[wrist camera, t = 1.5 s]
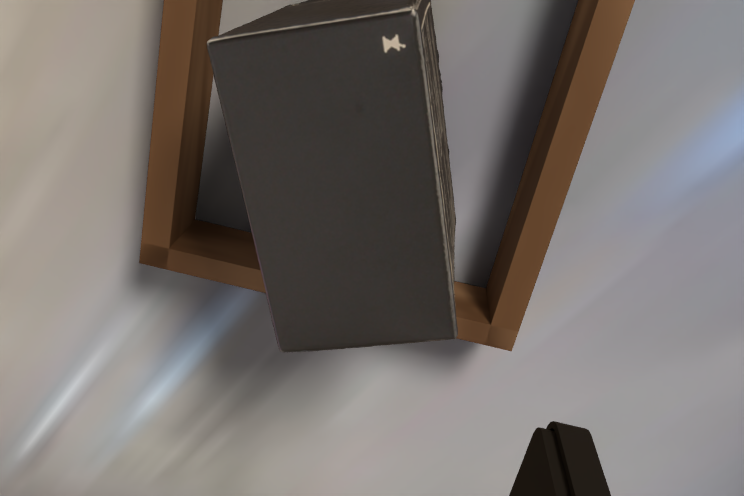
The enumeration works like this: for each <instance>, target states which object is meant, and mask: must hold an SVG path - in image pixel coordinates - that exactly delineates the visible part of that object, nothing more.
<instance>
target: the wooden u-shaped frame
mask: <svg viewBox="0 0 744 496" xmlns="http://www.w3.org/2000/svg"><path fill="white" fill-rule="evenodd" d="M222 2H223V0H164V6H163V17H162V27H161V38H160V49H159V59H158V70H157V80H156V91H155V102H154V112H153V123H152V134H151V144H150V155H149V165H148V176H147V187H146V197H145V208H144V218H143V229H142V240H141V250H140V261H139V263H141V264H146V265H150V266H154V267H158V268H163V269H167V270H171V271H175V272H179V273H184V274H188V275H192V276H196V277H200V278H205V279H209V280H213V281H217V282H222V283H226V284H230V285H234V286H238V287H243V288H247V289H251V290H255V291H260V292H264V293H266V291H265V286H264V282H263V278H262V274H261V269H260V265H259V261H258V257H257V252H256V248H255V244H254V240H253V235H252V233H250V232H246V231H242V230H238V229H233V228H229V227H225V226H221V225H217V224H212V223H208V222H204V221H200V220H196V219H195V216H196V208H197V200H198V192H199V184H200V177H201V169H202V161H203V153H204V145H205V137H206V129H207V121H208V113H209V105H210V97H211V89H212V81H213V70H212V66H211V62H210V57H209V54H208V50H207V41H208V40H209V39H211V38H212V37H214V36H218V34H219V26H220V18H221V10H222ZM634 2H635V0H578V3H577V6H576V9H575V12H574V16H573V19H572V22H571V25H570V28H569V31H568V34H567V37H566V40H565V44H564V47H563V50H562V53H561V56H560V59H559V62H558V65H557V69H556V72H555V75H554V78H553V81H552V84H551V87H550V90H549V93H548V97H547V100H546V103H545V106H544V109H543V112H542V115H541V118H540V121H539V125H538V128H537V131H536V134H535V137H534V140H533V143H532V146H531V150H530V153H529V156H528V159H527V162H526V165H525V168H524V171H523V174H522V178H521V181H520V184H519V187H518V190H517V193H516V196H515V199H514V203H513V206H512V209H511V212H510V215H509V218H508V221H507V224H506V227H505V231H504V234H503V237H502V240H501V243H500V246H499V249H498V252H497V255H496V259H495V262H494V265H493V268H492V271H491V274H490V277H489V280H488V284H487V287H486V288H482V287H478V286H473V285H469V284H465V283H461V282H456V281H454V293H455V308H456V319H457V327H458V335H457V337H456V338H458V339H462V340H466V341H470V342H475V343H479V344H483V345H487V346H491V347H496V348H500V349H504V350H508V351H512V348H513V345H514V343H515V340H516V337H517V334H518V331H519V328H520V326H521V323H522V320H523V317H524V314H525V311H526V308H527V306H528V303H529V300H530V297H531V294H532V291H533V289H534V286H535V283H536V280H537V277H538V274H539V272H540V269H541V266H542V263H543V260H544V257H545V254H546V252H547V249H548V246H549V243H550V240H551V237H552V235H553V232H554V229H555V226H556V223H557V220H558V218H559V215H560V212H561V209H562V206H563V203H564V200H565V198H566V195H567V192H568V189H569V186H570V183H571V181H572V178H573V175H574V172H575V169H576V166H577V164H578V161H579V158H580V155H581V152H582V149H583V146H584V144H585V141H586V138H587V135H588V132H589V129H590V127H591V124H592V121H593V118H594V115H595V112H596V110H597V107H598V104H599V101H600V98H601V95H602V92H603V90H604V87H605V84H606V81H607V78H608V75H609V73H610V70H611V67H612V64H613V61H614V58H615V56H616V53H617V50H618V47H619V44H620V41H621V38H622V36H623V33H624V30H625V27H626V24H627V21H628V19H629V16H630V13H631V10H632V7H633V4H634Z"/></svg>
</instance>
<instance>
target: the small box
mask: <svg viewBox="0 0 744 496" xmlns="http://www.w3.org/2000/svg"><path fill="white" fill-rule="evenodd" d="M207 50H208V54H209V57H210V62H211V66H212V70H213V74H214V79H215V83H216V87H217V91H218V95H219V99H220V103H221V107H222V111H223V115H224V119H225V123H226V127H227V131H228V135H229V140H230V144H231V148H232V152H233V156H234V160H235V164H236V169H237V173H238V177H239V181H240V185H241V189H242V193H243V197H244V202H245V206H246V210H247V214H248V218H249V223H250V227H251V231H252V235H253V240H254V244H255V248H256V252H257V257H258V261H259V265H260V269H261V274H262V278H263V282H264V286H265V291H266V295H267V300H268V304H269V308H270V313H271V317H272V321H273V326H274V330H275V335H276V339H277V343H278V347H279V349H280V351H282V352H306V351H319V350H332V349H344V348H359V347H369V346H378V345H391V344H404V343H416V342H426V341H439V340H448V339H455V338H456V337H457V335H458V327H457V319H456V308H455V293H454V247H455V246H454V242H455V225H456V216H455V208H454V197H453V188H452V180H451V172H450V162H449V149H448V144H447V136H446V126H445V118H444V106H443V100H442V84H441V83H442V81H441V78H440V76H441V74H440V70H439V54H438V50H437V44H436V36H435V31H434V22H433V15H432V8H431V0H308V1H306V2H301V3H299V4H294V5H288V6H285V7H284V8H281V9H279V10H277V11H275V12H273V13H271V14H268V15H266V16H263V17H261V18H259V19H256V20H254V21H252V22H250V23H247V24H245V25H242V26H241V27H237V28H235V29H233V30H231V31H229V32H226V33H224V34H222V35H219V36H214V37H212V38H211V39H209V40H208V41H207Z"/></svg>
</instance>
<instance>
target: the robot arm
mask: <svg viewBox="0 0 744 496" xmlns="http://www.w3.org/2000/svg"><path fill="white" fill-rule="evenodd" d="M509 496H611V494H610V491H609V488H608V485H607V482H606V479H605V476H604V473H603V470H602V467H601V464H600V461H599V458H598V454H597V451H596V448H595V445H594V442H593V439H592V436H591V434H590V432H589V430H587V429H585V428H580V427H576V426H572V425H567V424H563V423H559V422H554V421H553V422H550V424H549V425H548V426H547V428H546V429H544V428H537V429H536V430H535V431H534V433H533V436H532V438H531V441H530V443H529V446H528V449H527V451H526V454H525V456H524V459H523V461H522V464H521V467H520V469H519V472H518V474H517V477H516V480H515V482H514V485H513V487H512V490H511V492H510V495H509Z"/></svg>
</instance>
